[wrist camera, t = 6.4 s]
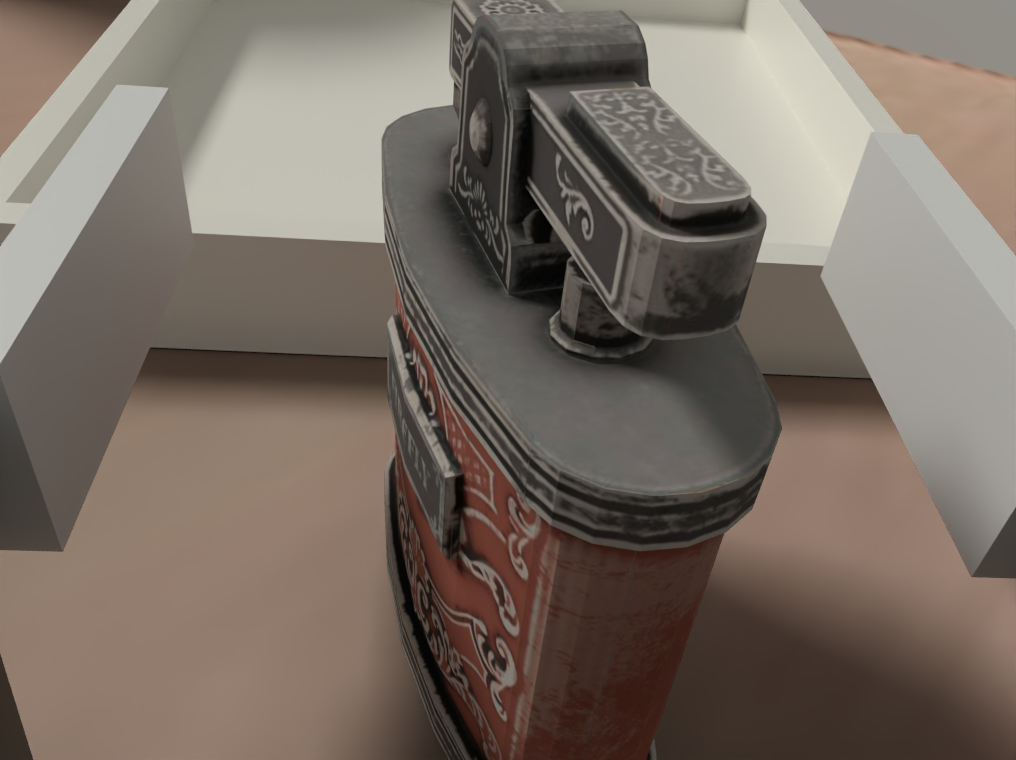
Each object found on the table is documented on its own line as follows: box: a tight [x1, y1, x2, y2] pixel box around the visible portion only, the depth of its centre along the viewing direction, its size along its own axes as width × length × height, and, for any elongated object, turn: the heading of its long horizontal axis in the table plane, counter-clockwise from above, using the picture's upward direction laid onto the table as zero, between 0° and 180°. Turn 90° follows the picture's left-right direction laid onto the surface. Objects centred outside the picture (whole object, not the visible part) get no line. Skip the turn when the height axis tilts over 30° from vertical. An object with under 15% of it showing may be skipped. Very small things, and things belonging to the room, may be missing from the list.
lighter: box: [381, 0, 782, 760], centre depth 13 cm, size 8×3×10 cm, turn 18°
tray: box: [0, 0, 904, 378], centre depth 29 cm, size 22×22×3 cm
